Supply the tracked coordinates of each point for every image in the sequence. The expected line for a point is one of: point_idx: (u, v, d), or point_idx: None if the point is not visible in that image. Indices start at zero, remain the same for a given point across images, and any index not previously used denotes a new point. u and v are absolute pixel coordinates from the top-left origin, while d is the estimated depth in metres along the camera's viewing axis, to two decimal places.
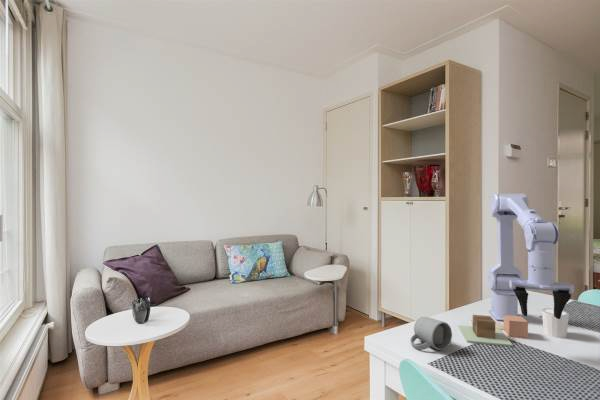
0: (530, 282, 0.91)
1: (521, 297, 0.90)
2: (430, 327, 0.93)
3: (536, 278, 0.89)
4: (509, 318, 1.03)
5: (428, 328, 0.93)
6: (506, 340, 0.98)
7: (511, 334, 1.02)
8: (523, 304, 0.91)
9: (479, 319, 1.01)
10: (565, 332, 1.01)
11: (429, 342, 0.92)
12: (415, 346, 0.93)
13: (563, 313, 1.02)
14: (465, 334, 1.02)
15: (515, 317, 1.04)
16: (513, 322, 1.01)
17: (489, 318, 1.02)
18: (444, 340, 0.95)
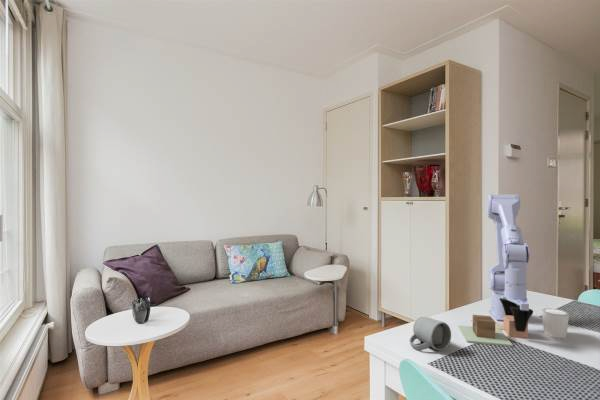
0: None
1: (502, 303, 1.09)
2: (429, 328, 0.93)
3: None
4: (509, 318, 1.03)
5: (427, 328, 0.93)
6: (506, 340, 0.98)
7: (511, 334, 1.02)
8: (504, 310, 1.08)
9: (479, 319, 1.01)
10: (565, 332, 1.01)
11: (428, 342, 0.92)
12: (414, 346, 0.93)
13: (563, 313, 1.02)
14: (465, 334, 1.02)
15: None
16: (513, 322, 1.01)
17: (489, 318, 1.02)
18: (444, 340, 0.95)
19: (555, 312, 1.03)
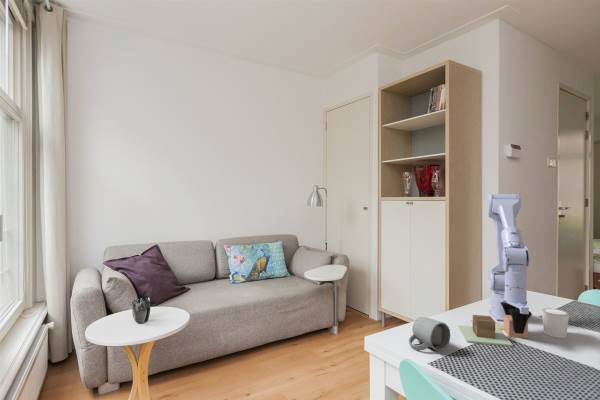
0: None
1: (503, 307, 1.08)
2: (428, 328, 0.93)
3: None
4: (509, 318, 1.03)
5: (426, 328, 0.93)
6: (506, 340, 0.98)
7: (511, 333, 1.02)
8: (505, 314, 1.07)
9: (479, 319, 1.01)
10: (565, 332, 1.01)
11: (427, 342, 0.92)
12: (413, 346, 0.93)
13: (563, 313, 1.02)
14: (465, 334, 1.02)
15: None
16: None
17: (489, 318, 1.02)
18: (443, 341, 0.95)
19: (555, 312, 1.03)
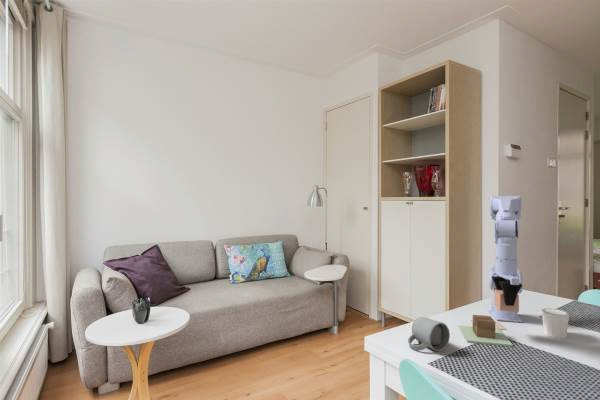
0: None
1: (493, 281, 1.07)
2: (427, 328, 0.93)
3: None
4: (500, 292, 1.03)
5: (425, 328, 0.93)
6: (506, 340, 0.98)
7: (502, 307, 1.01)
8: (496, 288, 1.07)
9: (479, 319, 1.01)
10: (565, 332, 1.01)
11: (427, 343, 0.92)
12: (413, 347, 0.93)
13: (563, 313, 1.02)
14: (465, 334, 1.02)
15: None
16: None
17: (489, 318, 1.02)
18: (442, 341, 0.95)
19: (555, 312, 1.03)
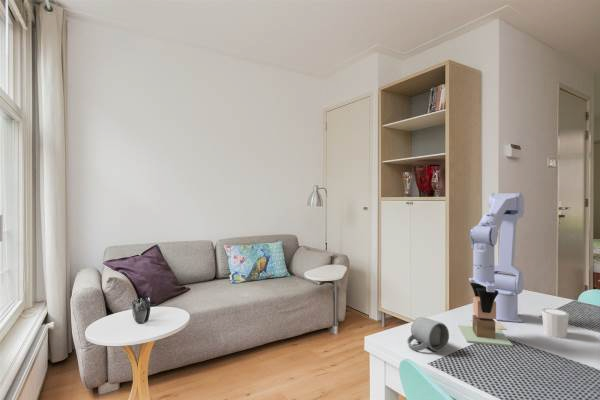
0: None
1: None
2: (426, 328, 0.93)
3: None
4: (478, 299, 1.02)
5: (425, 328, 0.93)
6: (506, 340, 0.98)
7: (479, 314, 1.00)
8: None
9: (479, 319, 1.01)
10: (565, 332, 1.01)
11: (426, 343, 0.91)
12: (412, 347, 0.93)
13: (563, 313, 1.02)
14: (465, 334, 1.02)
15: None
16: None
17: None
18: (441, 341, 0.95)
19: (555, 312, 1.03)
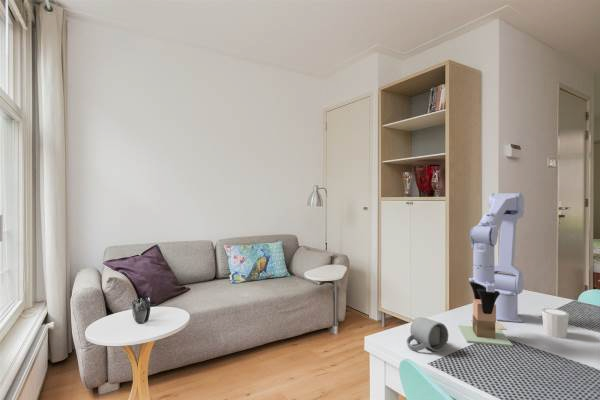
0: None
1: None
2: (426, 328, 0.93)
3: None
4: (478, 302, 1.02)
5: (424, 328, 0.93)
6: (506, 340, 0.98)
7: (479, 317, 1.00)
8: (474, 294, 1.07)
9: None
10: (565, 332, 1.01)
11: (425, 343, 0.91)
12: (411, 347, 0.93)
13: (563, 313, 1.02)
14: (465, 334, 1.02)
15: None
16: (481, 305, 1.00)
17: None
18: (441, 341, 0.95)
19: (555, 312, 1.03)
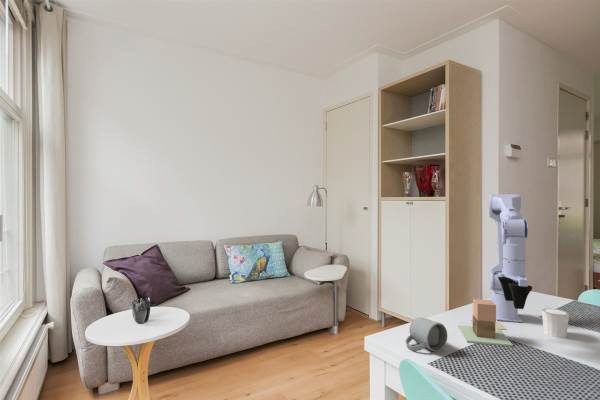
0: None
1: (500, 282, 1.05)
2: (425, 328, 0.92)
3: None
4: (478, 302, 1.02)
5: (423, 329, 0.93)
6: (506, 340, 0.98)
7: (479, 317, 1.00)
8: (502, 289, 1.04)
9: None
10: (565, 332, 1.01)
11: (424, 343, 0.91)
12: (410, 347, 0.92)
13: (563, 313, 1.02)
14: (465, 334, 1.02)
15: (484, 301, 1.03)
16: (481, 305, 1.00)
17: None
18: (440, 341, 0.95)
19: (555, 312, 1.03)
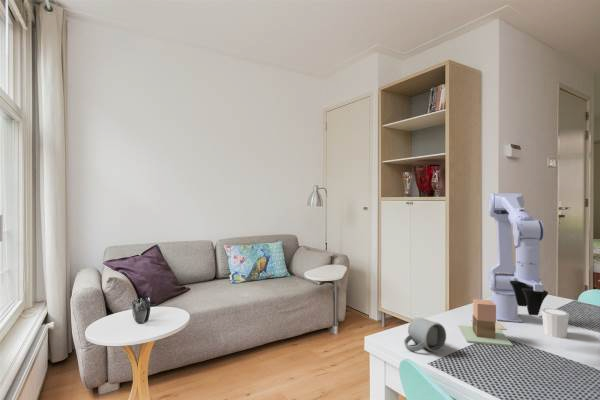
0: None
1: (512, 286, 1.00)
2: (423, 329, 0.92)
3: None
4: (478, 302, 1.02)
5: (422, 329, 0.93)
6: (506, 340, 0.98)
7: (479, 317, 1.00)
8: (515, 293, 0.99)
9: None
10: (565, 332, 1.01)
11: (423, 343, 0.91)
12: (409, 347, 0.92)
13: (563, 313, 1.02)
14: (465, 334, 1.02)
15: (484, 301, 1.03)
16: (481, 305, 1.00)
17: None
18: (438, 342, 0.94)
19: (555, 312, 1.03)
